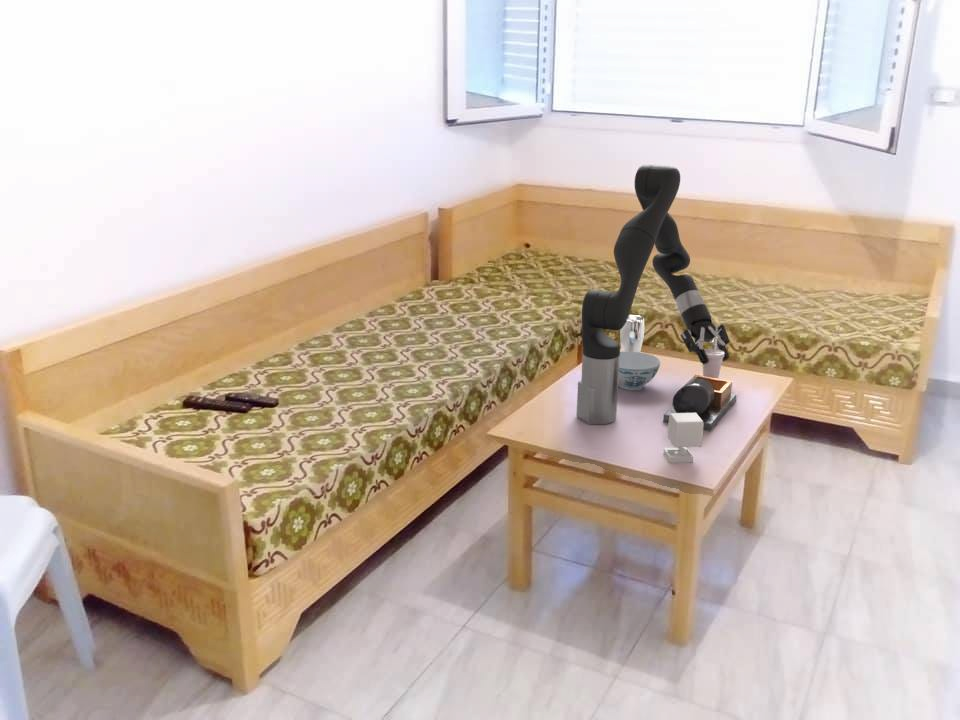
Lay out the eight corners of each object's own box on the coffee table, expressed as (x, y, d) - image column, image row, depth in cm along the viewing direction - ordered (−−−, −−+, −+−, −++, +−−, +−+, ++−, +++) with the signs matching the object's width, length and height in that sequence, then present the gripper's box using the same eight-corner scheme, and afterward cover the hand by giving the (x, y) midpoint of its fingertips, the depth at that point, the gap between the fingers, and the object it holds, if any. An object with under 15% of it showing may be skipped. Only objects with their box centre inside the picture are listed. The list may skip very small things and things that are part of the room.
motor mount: (710, 431, 222) (713, 393, 219) (663, 421, 228) (666, 384, 224) (735, 400, 242) (739, 365, 239) (692, 392, 247) (695, 358, 244)
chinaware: (598, 391, 248) (599, 364, 246) (612, 374, 261) (613, 348, 259) (652, 398, 243) (653, 371, 240) (663, 381, 256) (665, 355, 253)
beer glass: (636, 371, 263) (639, 322, 258) (614, 367, 267) (617, 318, 262) (645, 365, 269) (648, 317, 264) (623, 361, 272) (626, 313, 267)
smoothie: (716, 390, 249) (720, 341, 245) (694, 384, 253) (698, 337, 248) (725, 383, 254) (730, 336, 250) (704, 378, 258) (708, 332, 253)
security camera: (700, 462, 205) (704, 422, 202) (670, 463, 205) (673, 423, 201) (692, 451, 211) (695, 411, 208) (662, 451, 211) (665, 412, 207)
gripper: (678, 305, 250) (702, 358, 244) (720, 300, 256) (744, 351, 250) (665, 319, 256) (688, 371, 250) (706, 313, 262) (729, 364, 256)
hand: (716, 361), depth 250 cm, fingers closed on smoothie, 6 cm apart
